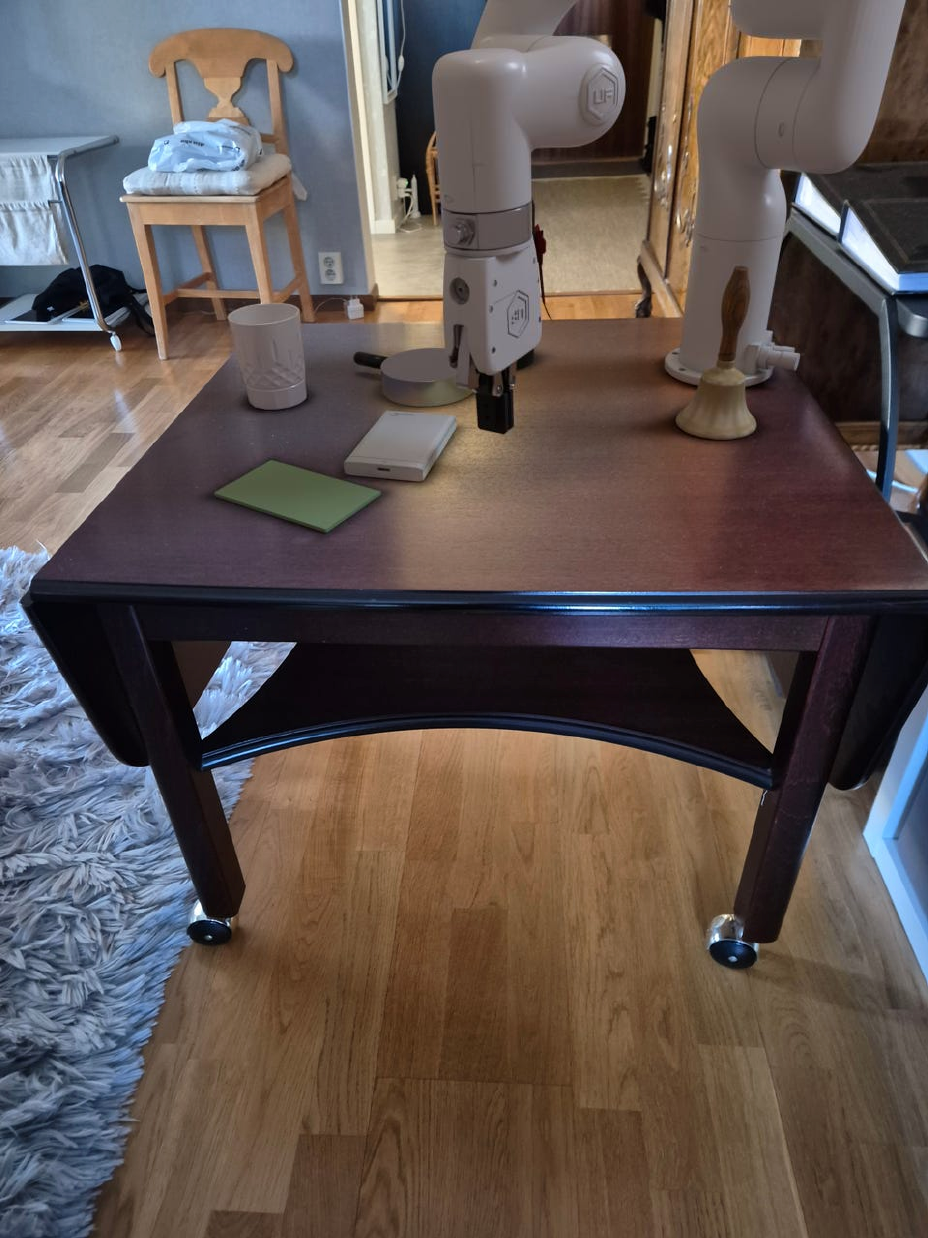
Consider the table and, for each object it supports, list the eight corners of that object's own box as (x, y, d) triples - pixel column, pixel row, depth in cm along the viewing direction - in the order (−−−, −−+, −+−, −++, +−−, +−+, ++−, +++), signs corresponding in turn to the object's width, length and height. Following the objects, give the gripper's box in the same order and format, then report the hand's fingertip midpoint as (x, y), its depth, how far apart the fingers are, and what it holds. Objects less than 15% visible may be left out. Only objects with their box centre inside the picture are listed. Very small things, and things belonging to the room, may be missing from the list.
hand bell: (770, 421, 90) (800, 263, 80) (731, 447, 85) (758, 283, 76) (701, 402, 95) (722, 251, 85) (660, 426, 90) (678, 269, 80)
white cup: (319, 386, 103) (307, 302, 97) (302, 412, 96) (288, 324, 90) (256, 386, 103) (240, 302, 97) (236, 412, 97) (217, 324, 91)
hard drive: (384, 409, 92) (342, 459, 83) (456, 415, 90) (422, 466, 81) (385, 424, 93) (344, 475, 84) (457, 429, 91) (424, 482, 82)
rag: (381, 495, 80) (380, 491, 80) (326, 533, 75) (325, 529, 74) (271, 463, 86) (271, 459, 86) (214, 496, 81) (213, 492, 81)
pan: (492, 380, 102) (491, 356, 100) (441, 413, 95) (440, 387, 93) (383, 358, 109) (380, 335, 108) (328, 387, 102) (324, 363, 100)
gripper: (478, 255, 64) (489, 470, 76) (568, 208, 74) (565, 405, 85) (398, 246, 68) (420, 453, 79) (494, 203, 77) (501, 393, 89)
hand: (495, 428), depth 82 cm, fingers closed
